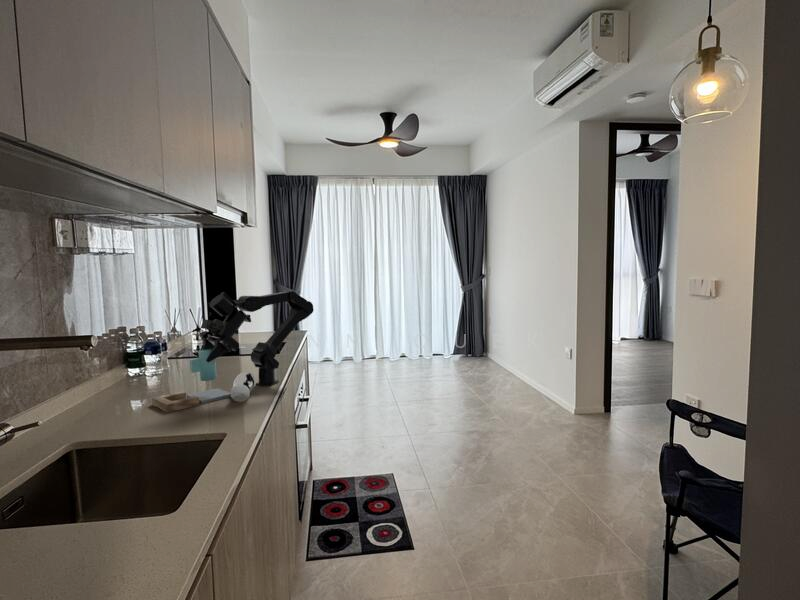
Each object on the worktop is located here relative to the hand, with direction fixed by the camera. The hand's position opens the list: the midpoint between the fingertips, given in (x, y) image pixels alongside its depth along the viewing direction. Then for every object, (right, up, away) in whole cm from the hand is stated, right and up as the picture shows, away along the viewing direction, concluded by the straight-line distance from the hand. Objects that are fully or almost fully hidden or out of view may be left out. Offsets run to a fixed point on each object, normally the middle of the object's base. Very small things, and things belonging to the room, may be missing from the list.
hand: (203, 360), depth 159 cm
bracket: (-6, -14, -6) cm, 16 cm away
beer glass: (+14, -10, -4) cm, 18 cm away
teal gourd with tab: (0, -7, 0) cm, 7 cm away
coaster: (+1, -13, +2) cm, 13 cm away
